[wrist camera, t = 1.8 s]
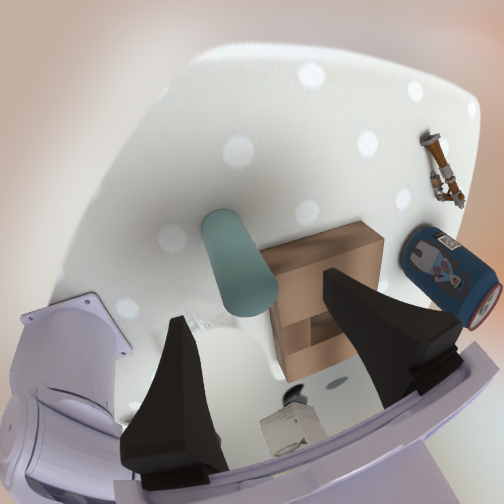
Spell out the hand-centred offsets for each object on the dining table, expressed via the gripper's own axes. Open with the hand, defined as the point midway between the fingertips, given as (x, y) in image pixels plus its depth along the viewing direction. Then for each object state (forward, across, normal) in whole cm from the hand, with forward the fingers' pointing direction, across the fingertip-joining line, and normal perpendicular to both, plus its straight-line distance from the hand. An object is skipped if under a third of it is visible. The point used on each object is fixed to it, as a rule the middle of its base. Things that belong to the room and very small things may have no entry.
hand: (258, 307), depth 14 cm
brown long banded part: (+9, -22, -1) cm, 24 cm away
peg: (+9, 0, 0) cm, 9 cm away
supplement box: (+9, -2, +37) cm, 38 cm away
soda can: (+9, -22, +9) cm, 25 cm away
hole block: (+9, -7, +11) cm, 16 cm away
